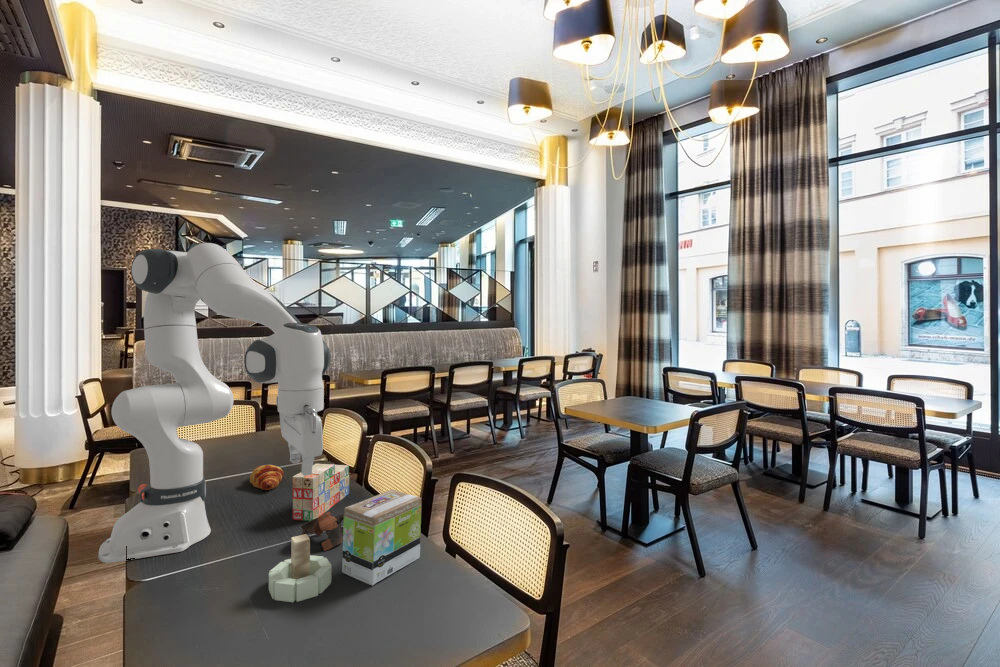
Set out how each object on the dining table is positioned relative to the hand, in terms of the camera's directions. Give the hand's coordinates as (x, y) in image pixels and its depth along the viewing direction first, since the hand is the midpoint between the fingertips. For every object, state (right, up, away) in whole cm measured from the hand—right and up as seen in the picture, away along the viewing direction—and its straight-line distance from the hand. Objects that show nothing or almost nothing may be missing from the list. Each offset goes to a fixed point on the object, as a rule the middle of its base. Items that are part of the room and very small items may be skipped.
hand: (300, 468), depth 100 cm
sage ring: (0, -25, +1) cm, 25 cm away
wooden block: (0, -25, +1) cm, 25 cm away
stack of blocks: (-11, -24, +44) cm, 51 cm away
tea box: (+15, -25, +9) cm, 31 cm away
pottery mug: (-2, -24, +21) cm, 32 cm away
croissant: (-37, -23, +62) cm, 76 cm away
